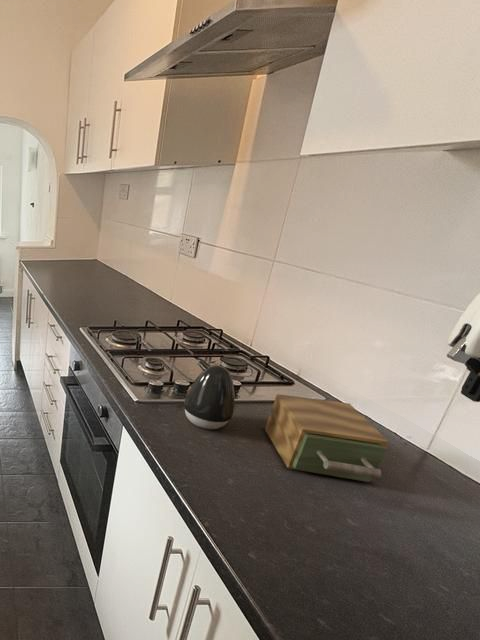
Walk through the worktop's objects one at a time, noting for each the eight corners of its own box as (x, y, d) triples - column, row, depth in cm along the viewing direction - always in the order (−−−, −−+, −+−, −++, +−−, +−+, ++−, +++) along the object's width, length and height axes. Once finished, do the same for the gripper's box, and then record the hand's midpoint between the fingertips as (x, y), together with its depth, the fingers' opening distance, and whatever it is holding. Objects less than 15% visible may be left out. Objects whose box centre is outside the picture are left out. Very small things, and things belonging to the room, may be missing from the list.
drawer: (385, 499, 75) (403, 465, 72) (304, 485, 79) (318, 451, 76) (337, 442, 91) (350, 411, 88) (272, 432, 95) (282, 402, 92)
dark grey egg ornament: (201, 408, 106) (216, 354, 100) (238, 430, 97) (256, 372, 91) (170, 415, 103) (183, 360, 97) (205, 439, 94) (221, 379, 88)
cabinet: (368, 482, 81) (388, 441, 77) (287, 468, 85) (302, 428, 81) (334, 440, 93) (349, 403, 90) (264, 429, 97) (276, 393, 93)
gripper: (584, 281, 59) (516, 394, 66) (450, 273, 63) (400, 381, 70) (644, 294, 52) (561, 418, 59) (489, 285, 56) (429, 402, 64)
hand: (474, 398), depth 65 cm, fingers closed
